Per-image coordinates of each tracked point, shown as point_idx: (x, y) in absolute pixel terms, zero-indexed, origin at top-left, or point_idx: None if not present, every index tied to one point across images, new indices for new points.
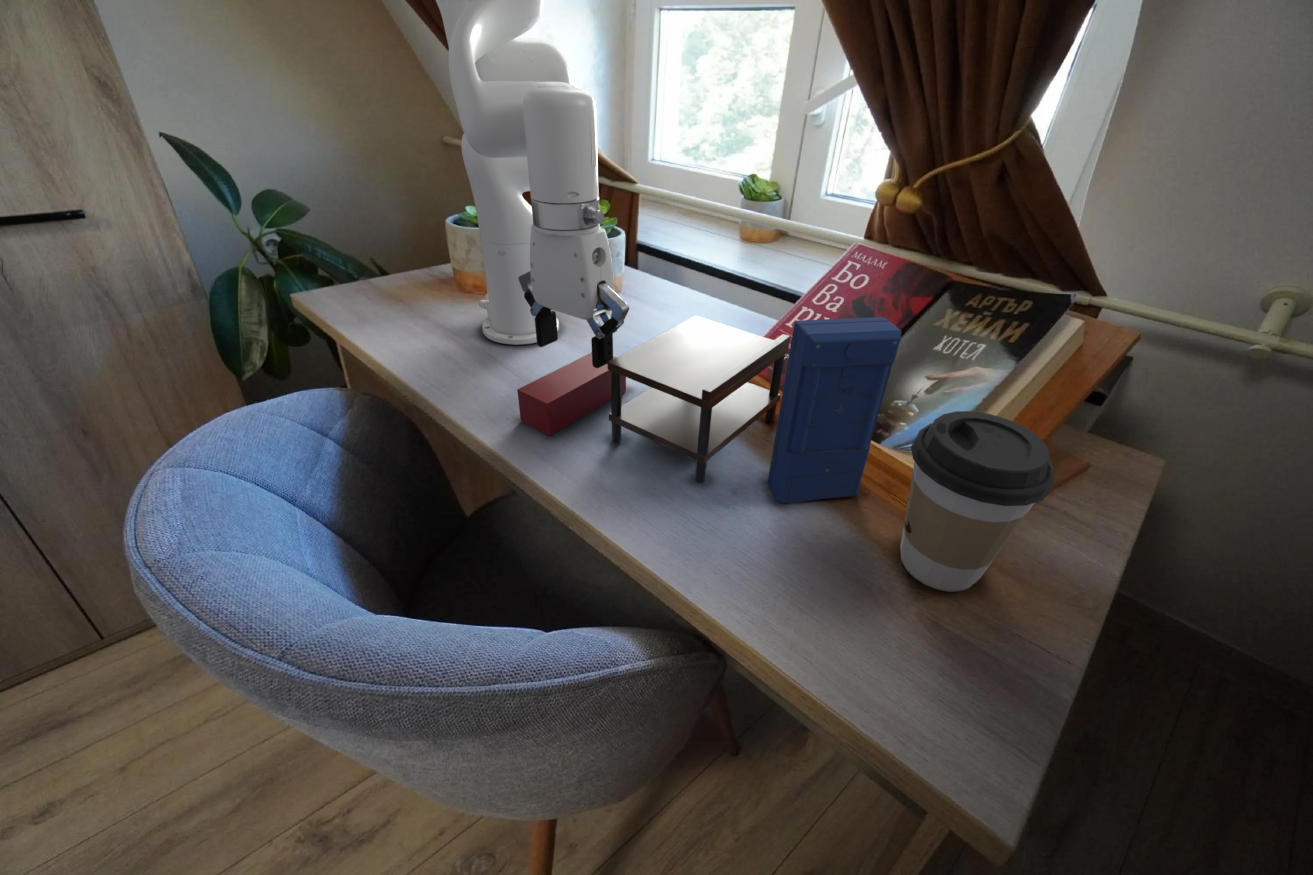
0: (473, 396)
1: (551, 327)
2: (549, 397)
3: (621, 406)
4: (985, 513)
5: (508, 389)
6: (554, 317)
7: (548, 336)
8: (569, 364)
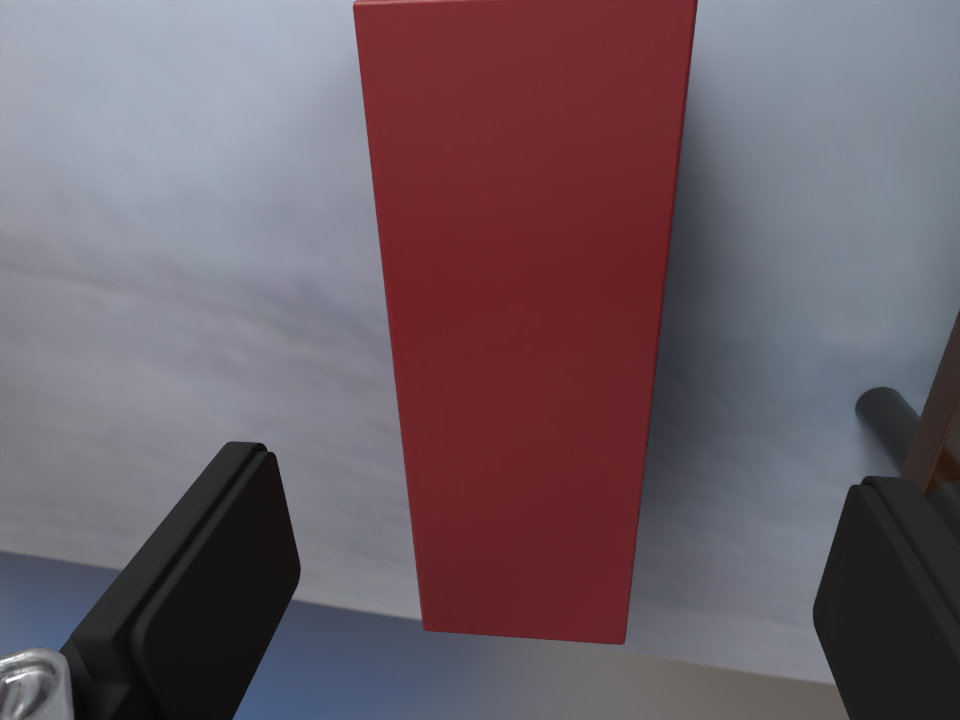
0: (174, 490)
1: (225, 585)
2: (593, 611)
3: (951, 444)
4: None
5: (202, 385)
6: (168, 622)
7: (266, 565)
8: (402, 332)
